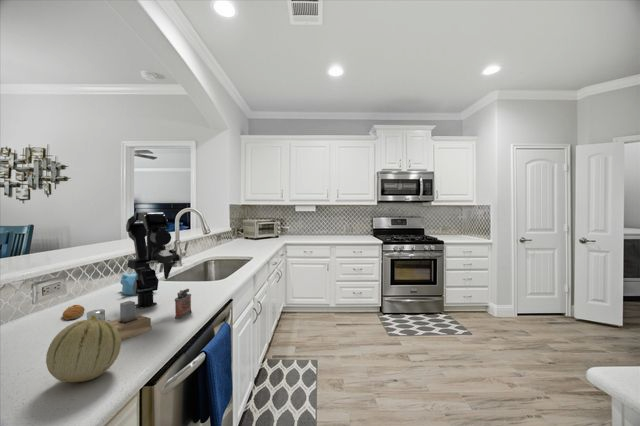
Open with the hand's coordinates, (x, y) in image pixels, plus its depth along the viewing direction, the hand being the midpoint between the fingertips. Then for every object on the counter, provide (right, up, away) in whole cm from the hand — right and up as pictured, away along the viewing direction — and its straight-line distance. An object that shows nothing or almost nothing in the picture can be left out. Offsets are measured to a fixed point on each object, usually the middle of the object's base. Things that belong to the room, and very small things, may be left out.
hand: (155, 281), depth 119 cm
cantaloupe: (+8, -14, -45) cm, 47 cm away
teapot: (-26, -13, +32) cm, 43 cm away
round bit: (-13, -13, -14) cm, 24 cm away
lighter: (+12, -13, -2) cm, 18 cm away
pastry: (-32, -14, -2) cm, 35 cm away
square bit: (0, -13, -17) cm, 22 cm away
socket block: (0, -13, -17) cm, 22 cm away
